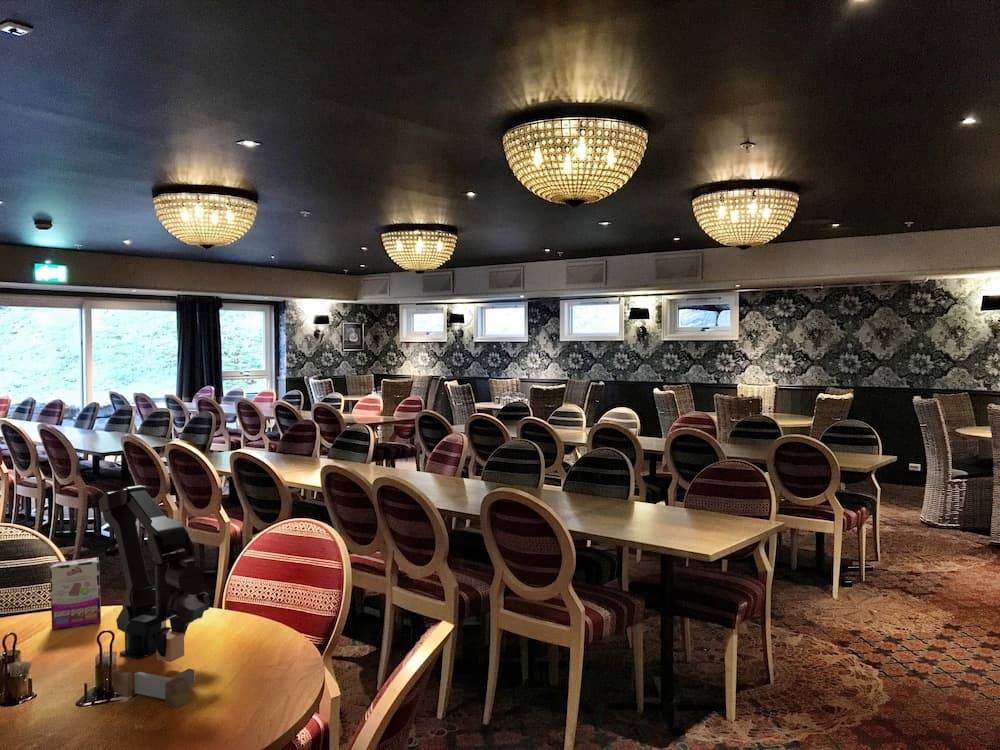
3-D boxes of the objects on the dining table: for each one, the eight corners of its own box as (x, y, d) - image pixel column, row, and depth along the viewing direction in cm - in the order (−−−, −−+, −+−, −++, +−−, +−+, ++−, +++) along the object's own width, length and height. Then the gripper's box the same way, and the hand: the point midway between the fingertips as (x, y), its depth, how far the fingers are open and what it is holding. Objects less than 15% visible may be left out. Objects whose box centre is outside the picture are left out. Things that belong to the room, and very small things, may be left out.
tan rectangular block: (156, 659, 170) (156, 637, 170) (170, 652, 174) (170, 630, 174) (170, 662, 169) (170, 639, 169) (184, 655, 173) (184, 633, 173)
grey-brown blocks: (102, 691, 161) (101, 670, 161) (114, 685, 164) (113, 664, 164) (177, 707, 154) (176, 685, 154) (188, 701, 156) (187, 679, 156)
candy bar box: (100, 617, 205) (99, 556, 204) (101, 623, 200) (99, 561, 200) (52, 624, 200) (50, 561, 199) (51, 631, 195) (49, 566, 194)
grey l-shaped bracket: (134, 692, 160) (134, 673, 160) (159, 679, 166) (159, 661, 166) (170, 700, 156) (169, 681, 156) (194, 686, 162) (194, 668, 162)
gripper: (165, 600, 159) (166, 675, 160) (227, 575, 177) (228, 642, 177) (124, 594, 163) (125, 666, 164) (189, 570, 181) (190, 636, 181)
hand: (170, 652), depth 172 cm, fingers closed on tan rectangular block, 4 cm apart
